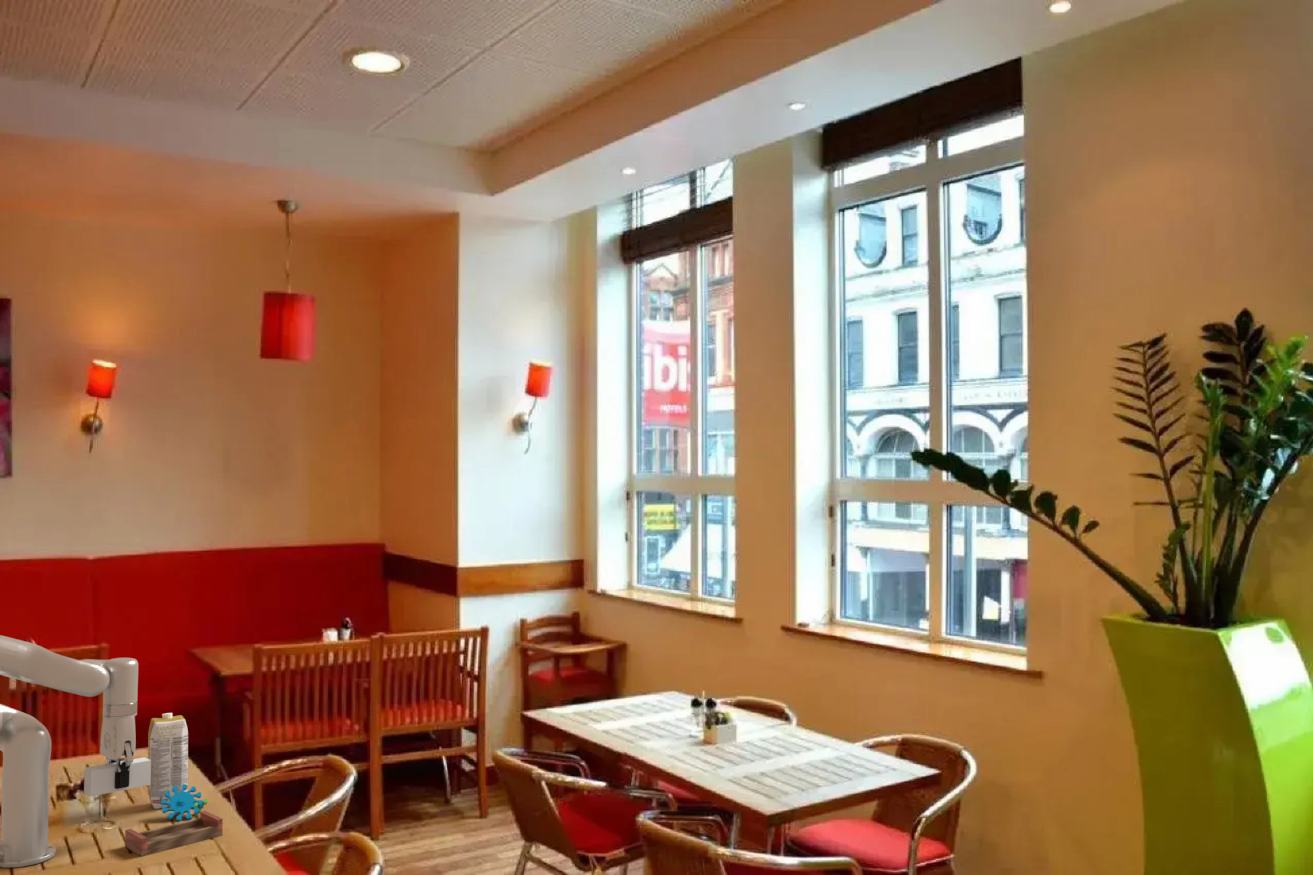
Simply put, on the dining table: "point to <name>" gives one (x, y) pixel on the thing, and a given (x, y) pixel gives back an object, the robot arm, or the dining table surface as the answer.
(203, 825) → the cradle
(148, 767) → the long white brick
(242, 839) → the dining table surface
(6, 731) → the robot arm
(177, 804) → the blue spiky virus model
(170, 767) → the juice carton
